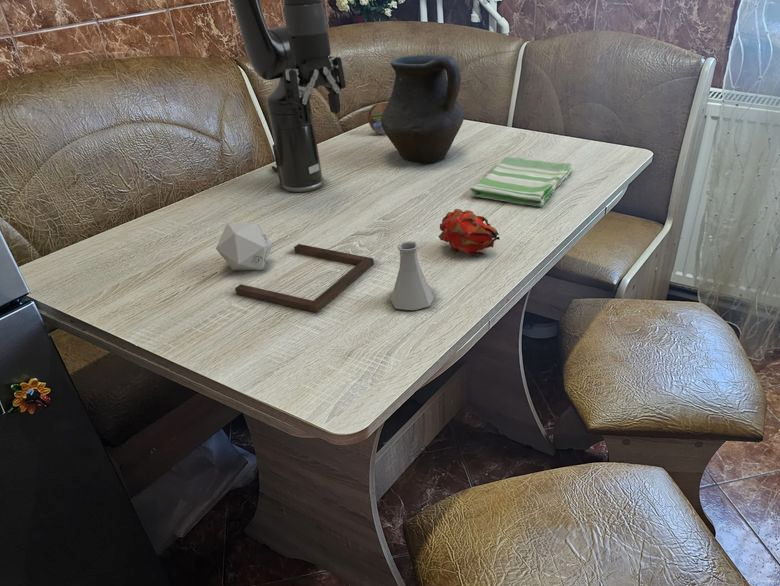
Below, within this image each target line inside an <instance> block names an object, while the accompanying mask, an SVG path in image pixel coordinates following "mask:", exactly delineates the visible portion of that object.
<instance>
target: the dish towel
mask: <svg viewBox="0 0 780 586" xmlns="http://www.w3.org/2000/svg"><path fill="white" fill-rule="evenodd" d="M572 165H573V164H572V163H569V162H568V163H567V162H561V163H560V162H550V161H543V160H535V159H526V158H520V157H505V158H503V159H502V160H501V161H500V162H499V163H498V164H497V165H496V166H495V167H494V168H492V170H491V171H490V172H489V173H487V174H486V175H485V176H484V177H483V178H482V179H480V180H478V182H476V183H475V184H474V185H472V186H470V187H469V190H470V192H471V193H472V194H473V196H474V197H477V198H483V199H489V200H495V201H501V202H505V203H513V204H517V205H518V204H519V205H523V206H525V205H526V206H533V207H540V208H542V207H543V206H544V205H545V204H546V202H547V201H548V199H549V198H550V197H551V196H552V195H551V194H552V193H553V192H554V191H555V190H556V189H557V188H558V187H559V186H560V185H561V184H562V182H563V181H564V180H565V179H566V178H567V177H568V176H569V175H570V173H571V172H572V170H573V168H572Z"/></svg>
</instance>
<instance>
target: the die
mask: <svg viewBox="0 0 780 586" xmlns="http://www.w3.org/2000/svg"><path fill="white" fill-rule="evenodd" d="M273 246H274V244H273V242H272V241H271V240H270V238H269V237H268V235H267V234H266V232H265V231H264V229H263V228H262V227H261V226H260V224H259V223H258V221H245V222H244V221H243V222H242V221H241V222H226V225H225V227H224V229H223V231H222V233H221V236H220V238H219V240H218V242H217V245H216V247H215V250H216V251H217V252H218V254H219V255H220V256H221V257H222V258H223V260H224V261H225V262H226V264H227V265H228V266H229V268H230V269H231V270H232V271H263V270H264V267H265V265H266V262H267V259H268V257H269V255H270V253H271V251H272V249H273Z"/></svg>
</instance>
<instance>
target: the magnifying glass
mask: <svg viewBox="0 0 780 586" xmlns="http://www.w3.org/2000/svg"><path fill="white" fill-rule="evenodd" d="M387 103H388V101H383V102H378V103H375V104H374V105H373V106H372V107H371V108H370V109H369V111H368V113H367V114H368V115H367V120H368V125H369V126H370V128H371V129H372V130H373V131H374V132H375V133H377V134H378V135H383V136H387V135H386V134H385V132H384V130H383V128H382V125H381V116H382V113H383V111H384V109H385V107H386V105H387Z"/></svg>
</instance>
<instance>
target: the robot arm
mask: <svg viewBox="0 0 780 586" xmlns="http://www.w3.org/2000/svg"><path fill="white" fill-rule="evenodd" d="M230 1H231V3H232V8H233V10H234V14H235V17H236V21H237V24H238V28H239V31H240V36H241V39H242V42H243V46H244V49H245V52H246V55H247V58H248V60H249V63H250V65H251V68H252V69H253V70H254V72H255V73H256V75H257V76H258V77H260V78H261V79H262V80H265V81H273V80H277V79H279V80H278V83H277V86H276V87H275V88H274V90H273V91H271V93H270V94H268V95H267V97H266V103H265V104H266V109H267V112H268V118H269V123H270V127H271V133H272V137H273V142H274V144H272V152H273V156H274V161H275V165H272V166H271V170H272V171H275V172H276V173H277V175H278V180H279V185H280V186H281V187H282V189H283V190H285V191H286V192H292V193H306V192H311V191H315V190H317V189H320V188H321V187H322V186H323V185H324V178H323V173H322V166H321V160H320V154H319V148H318V142H317V136H316V135H317V134H316V129H315V124H314V123H315V122H314V118H313V112H312V105H311V98H312V93H313V90H314V89H317V88H318V87H320V86H321V87H324V88H325V90H326V91H327V92H328V93H327V99H328V100H327V101H328V107H329V111H330V113H331V114H339V113H340V112H341V99H340V93H341V90H342V89H345V88H346V87H347V86H346V80H345V74H344V73H345V72H344V67H343V62H342V58H341V57H339V56H333V55H332V54H331V45H330V38H329V30H328V23H327V17H326V12H325V8H324V4H323V0H282V1H283V9H284V10H283V14H284V22H285V26H283V25H282V26H276V27H272V28H269V27H268V25H267V23H266V19H265V16H264V12H263V9H262V4H261V0H230ZM331 55H332V56H331Z"/></svg>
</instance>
